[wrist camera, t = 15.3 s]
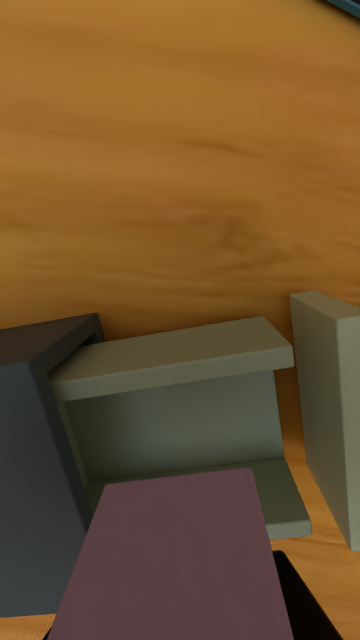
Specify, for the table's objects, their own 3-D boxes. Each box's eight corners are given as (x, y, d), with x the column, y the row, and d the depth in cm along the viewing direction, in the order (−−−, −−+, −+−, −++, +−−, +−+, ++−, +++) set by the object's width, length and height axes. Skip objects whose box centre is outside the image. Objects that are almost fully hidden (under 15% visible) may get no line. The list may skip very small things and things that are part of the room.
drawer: (422, 270, 13) (545, 285, 9) (421, 449, 15) (518, 537, 11) (42, 337, 15) (-28, 379, 10) (89, 488, 17) (51, 579, 13)
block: (251, 465, 8) (306, 687, 4) (268, 579, 9) (327, 849, 5) (104, 482, 8) (22, 700, 4) (136, 590, 9) (92, 849, 5)
